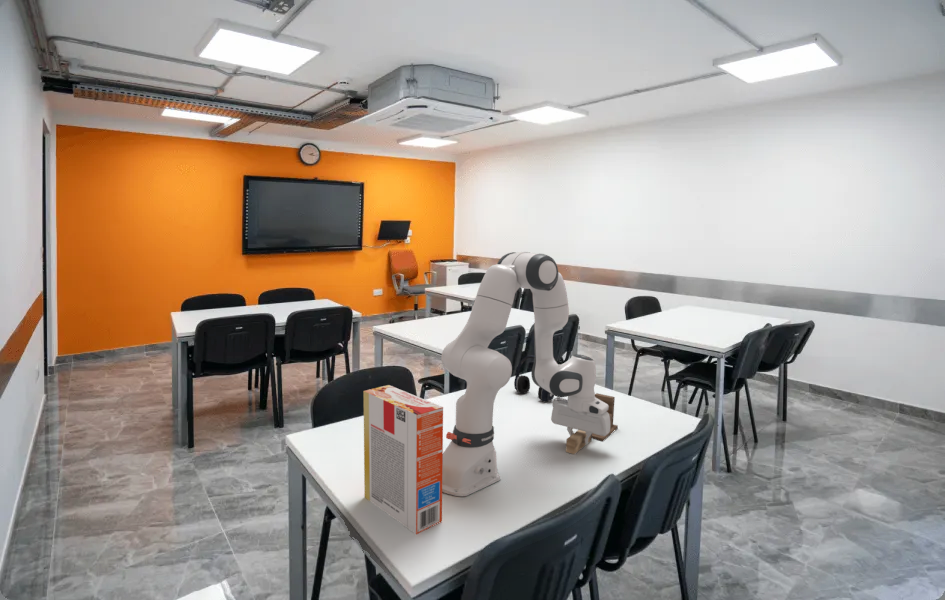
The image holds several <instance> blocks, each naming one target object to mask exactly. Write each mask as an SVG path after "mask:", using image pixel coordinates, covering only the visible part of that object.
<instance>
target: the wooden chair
mask: <svg viewBox="0 0 945 600" xmlns="http://www.w3.org/2000/svg"><path fill="white" fill-rule="evenodd" d="M595 397H596V398H598V399H599V400H601V401H603V402H605V403H606V404H608V406H609V408H608V410H607V412H608V413H609V416H610V432H609V433H608V434H607V435H606V436H601V435H597V434H593V433H592V438H593V439H592V440H596V439H597V441H600V442H604V441H605V440H606V439H607V438H608V437H609V436H610V435H612V434H613V433H614V432H615V431H616V430H617V429H618V427H619V426H618V425H617V424H614V417H615V416H614V414H615V398H616V397H615V396H611V395H607V394H602V393H598V392H595ZM614 430H615V431H614ZM577 431H578V430H576V431H575V432H577ZM613 431H614V432H613ZM612 432H613V433H612ZM611 433H612V434H611ZM604 439H605V440H604ZM603 440H604V441H603Z"/></svg>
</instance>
